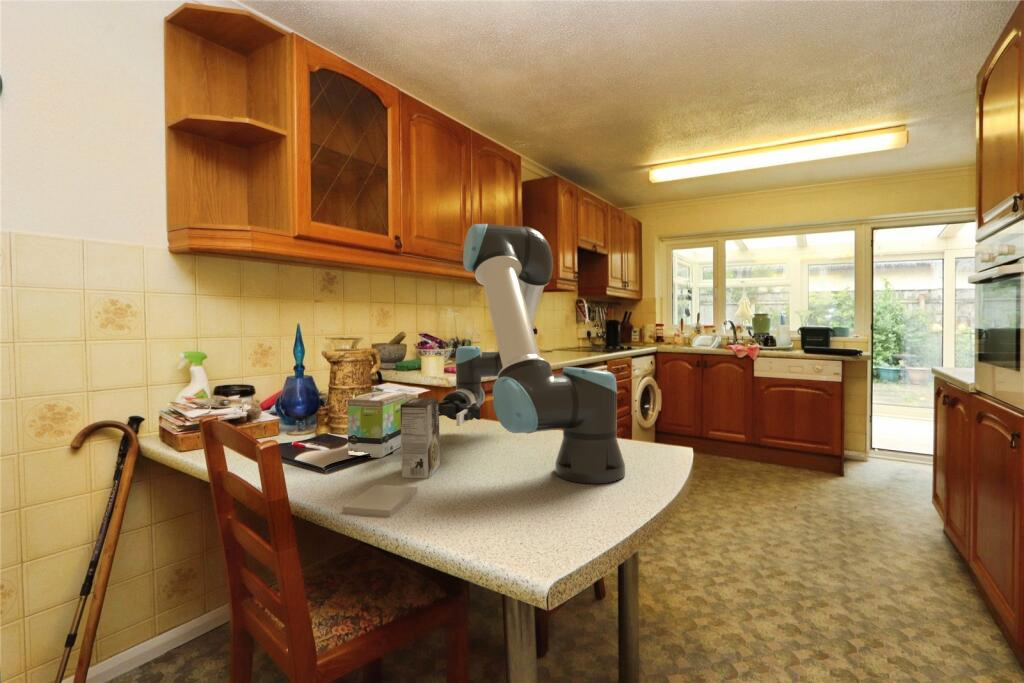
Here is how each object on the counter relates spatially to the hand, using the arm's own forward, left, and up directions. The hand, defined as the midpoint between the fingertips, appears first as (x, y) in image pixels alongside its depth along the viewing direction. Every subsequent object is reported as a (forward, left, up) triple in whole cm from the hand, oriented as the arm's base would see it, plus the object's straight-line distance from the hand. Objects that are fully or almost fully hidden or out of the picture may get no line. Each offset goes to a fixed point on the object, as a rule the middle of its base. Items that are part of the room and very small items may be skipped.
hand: (430, 419), depth 115 cm
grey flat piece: (0, +19, -10) cm, 22 cm away
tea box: (+19, -10, -11) cm, 24 cm away
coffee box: (0, +6, -11) cm, 13 cm away
